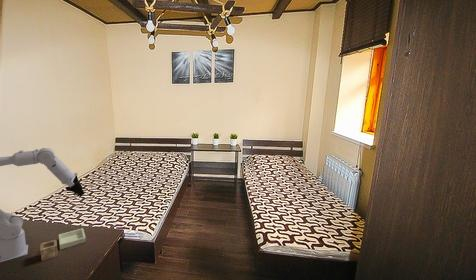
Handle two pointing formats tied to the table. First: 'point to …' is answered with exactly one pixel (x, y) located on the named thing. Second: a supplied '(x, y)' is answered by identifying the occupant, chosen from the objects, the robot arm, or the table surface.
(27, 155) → the robot arm
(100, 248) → the table surface
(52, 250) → the tan open box
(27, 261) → the table surface
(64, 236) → the tray
